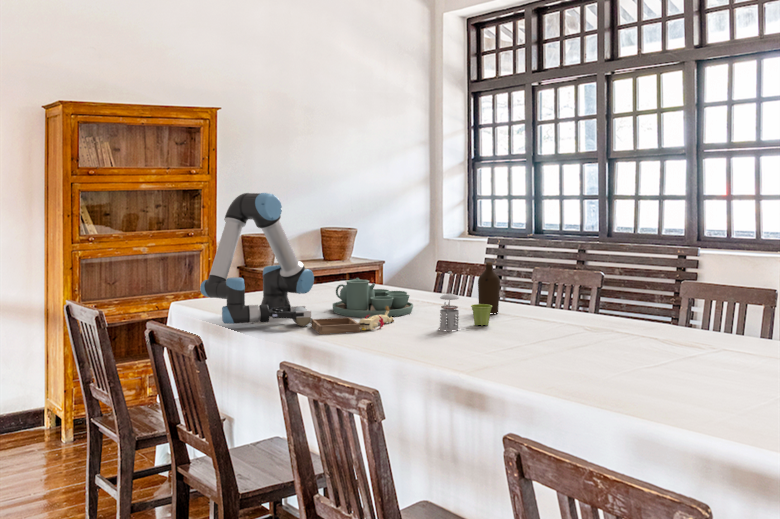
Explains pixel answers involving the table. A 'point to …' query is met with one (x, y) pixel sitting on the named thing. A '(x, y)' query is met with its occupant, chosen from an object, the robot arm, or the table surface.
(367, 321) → the cat figure
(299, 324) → the ceramic mug
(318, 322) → the tray
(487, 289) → the olive oil
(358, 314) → the tea set
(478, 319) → the plant pot
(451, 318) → the french press
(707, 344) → the table surface
